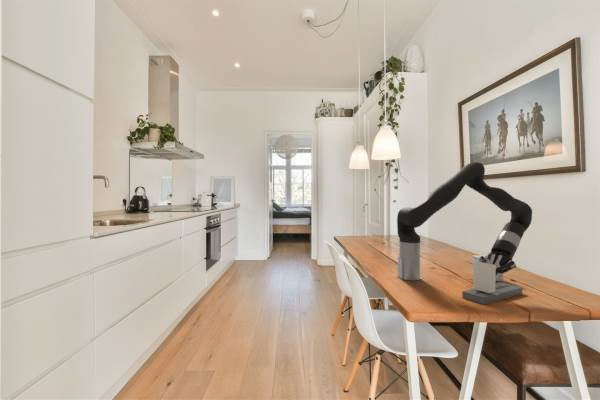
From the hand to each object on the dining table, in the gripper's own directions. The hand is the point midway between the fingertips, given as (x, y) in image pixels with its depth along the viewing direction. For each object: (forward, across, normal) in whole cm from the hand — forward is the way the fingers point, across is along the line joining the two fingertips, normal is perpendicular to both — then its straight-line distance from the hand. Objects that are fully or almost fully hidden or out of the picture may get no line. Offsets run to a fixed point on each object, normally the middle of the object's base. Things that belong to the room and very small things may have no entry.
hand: (488, 279), depth 113 cm
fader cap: (+5, 0, -1) cm, 5 cm away
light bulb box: (-13, +15, -23) cm, 31 cm away
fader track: (+2, 0, -7) cm, 8 cm away
